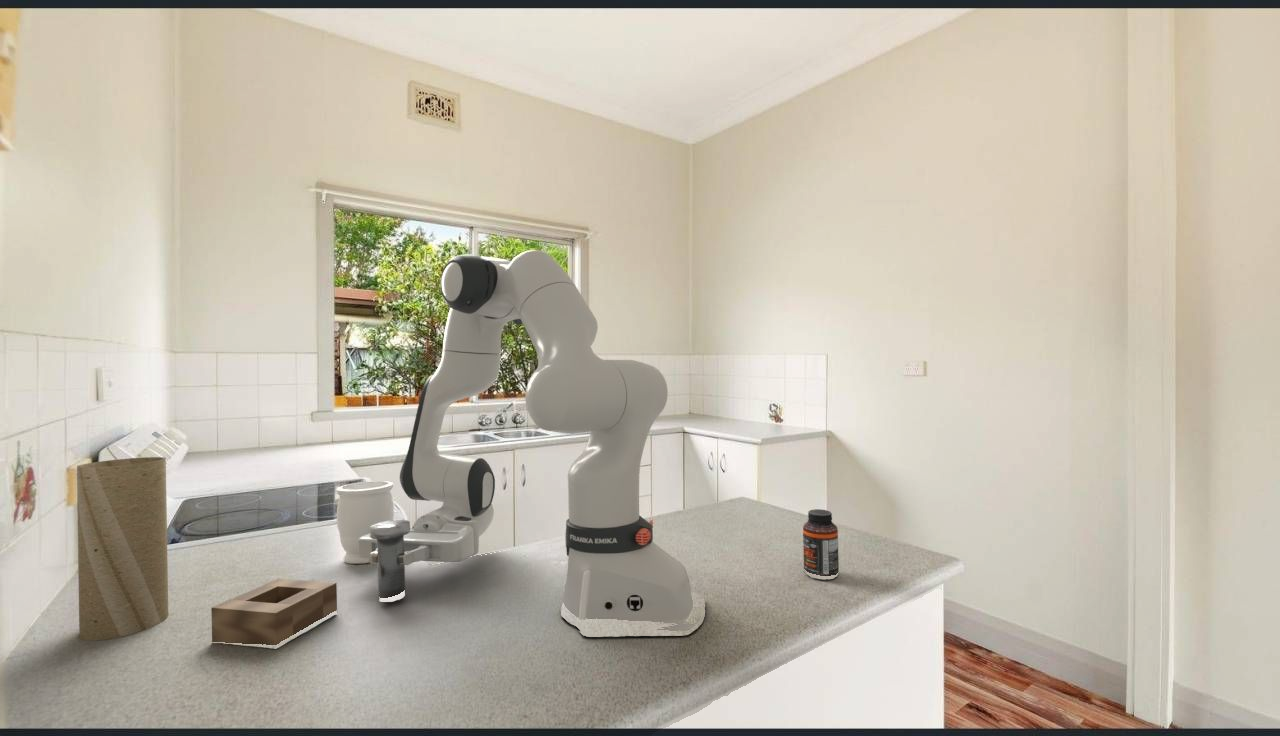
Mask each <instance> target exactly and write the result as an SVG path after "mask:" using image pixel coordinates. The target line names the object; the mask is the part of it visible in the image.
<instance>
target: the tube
mask: <svg viewBox="0 0 1280 736" xmlns="http://www.w3.org/2000/svg"><path fill="white" fill-rule="evenodd" d="M76 500H77V501H76V502H77V511H76V512H77V555H78V556H77V564H78V568H77V569H78V571H77V572H78V573H77V574H78V575H77V576H78V619H79V620H78V621H79V622H78V623H79V624H78V627H79V630H78V633H79V638H80V639H81V640H84V641H105V640H112V639H116V638H117V639H118V638H121V637H122V638H123V637H126V636H129V635H132V634H136V633H139V632H143V631H146V630H147V629H149V628H152V627H154V626H157V625H159V624H160V623H162V622H164V621H165V620H167V619H168V617H169V584H168V583H169V575H168V574H169V570H168V564H169V563H168V562H169V561H168V521H167V520H168V519H167V517H168V515H167V514H168V513H167V511H168V510H167V509H168V508H167V458H166V457H161V456H151V457H150V456H148V457H131V458H120V459H110V460H103V461H96V462H89V463H83V464H80V465H79V464H78V465H77V466H76Z"/></svg>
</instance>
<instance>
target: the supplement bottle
mask: <svg viewBox="0 0 1280 736" xmlns="http://www.w3.org/2000/svg"><path fill="white" fill-rule="evenodd" d="M807 516H808V517H807V518H808V519H807V521H806V522H805V523H804V524H803V526H802V538H803V539H802V540H803V541H802V544H803V547H802V548H803V550H802V551H803V570H804V569H805V570H806V571H807V572H809V573H812V574H816V575H820V576H831V575H836V574H837V573H838V572H840V569H839V568H840V567H839V566H840V565H839V562H840V561H839V529H838V527H837V525H836V524H834V522H833V514H832V512H831V510H830V511H829V510H826V509H818V508H817V509H816V508H815V509H810V510H808V513H807Z"/></svg>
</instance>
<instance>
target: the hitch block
mask: <svg viewBox="0 0 1280 736" xmlns="http://www.w3.org/2000/svg"><path fill="white" fill-rule="evenodd" d="M337 587H338V586H337V582H333V581H332V582H330V581H317V580H315V581H314V580H301V579H286V578H277V579H275V580H272V581H270V582H268V583H265V584H263V585H260V586H258V587H256V588H253V589H252V590H249V591H247V592H245V593H242V594H239V595H238V596H235V597H233V598H230V599H227V600H226V601H224V602H222V603H219V604H216V605H215V606H212V607H210V608H211V611H210V612H211V643H212V642H225V643H242V644H262V645H263V644H266V645H277V644H279V643H280V642H281V641H283V640H285V639H287V638H289V637H290V636H292V635H294V634H296V633H297V632H299V631H300V630H303V629H304V628H306V627H308V626H309V625H311V624H313V623H314V622H316V621H318V620H320V619H322V618H324V617H326V616H327V615H329V614H330V613H332V612H334V611H336V610H337V611H338V589H337Z"/></svg>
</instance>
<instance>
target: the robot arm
mask: <svg viewBox="0 0 1280 736" xmlns="http://www.w3.org/2000/svg"><path fill="white" fill-rule="evenodd" d="M440 276H441V277H440V293H441V296H442V298H443V300H444V302H445V304H446V305H447V307H449V312H448V315H447V320H446V322H445V323H446V324H445V329H444V333H443V334H444V335H443V343H442V353H441V354H442V356H441V359H440V361H439V362H440V363H439V365H438V367H437V369H436V371H435V372H434V373H433V374H431V375H430V376H428V378H427V379H426V380H425V382H424V385H423V388H422V391H421V394H420V398H419V401H418V405H417V410H416V414H415V417H414V418H415V420H414V424H413V428H412V431H411V438H410V442H409V446H408V450H407V453H406V456H405V458H404V461H403V463H402V465H401V468H400V472H399V483H400V486H401V488H402V490H403V491H404V493H405V494H406V496H407V497H408V498H409V499H411V500H414V501H427V502H428V501H430V502H431V501H432V502H433V501H434V502H437V503H438V502H439V503H440V502H441V503H442V505H441V507H439V508H437V509H434V510H432V511H430V512H428V513H425V514H423V515H420V516H419V517H418V518H417V519H416V520H415V521H414V523H413V525H412V527H410V533H408V534H406V535H404V552H403V553H401V554H399V556H398V559H399V561H398V564H399V565H405V566H409V565H411V564H413V563H417V562H418V563H419V562H437V563H438V562H439V563H442V562H443V563H459V562H464V561H466V560H467V559H469V558H471V557H473V556H475V555H477V554H478V553H479V547H480V537H481V536H482V535H483V534H485V532H486V531H487V529H488V528H489V527H490V525H491V523H492V522H493V519H494V514H495V513H494V507H493V504H492V502H493V500H494V495H495V490H496V488H495V487H496V484H495V483H496V480H495V475H494V473H493V470H492V469H493V468H491V465H490V464H489V463H488V462H487V461H486V459H484V458H483V457H480V458H479V457H475V456H469V455H459V454H451V453H444V452H440V450H439V448H438V443H439V439H440V436H441V435H440V434H441V430H442V428H443V427H442V426H443V421H444V416H445V414H446V411H447V410H448V408H450V406H452V405H453V404H454V403H456V402H459V401H461V400H465V399H467V398H468V399H469V398H471V397H475V396H478V395H481V394H482V393H484V392H485V391H487V390H488V389H490V388H491V387H492V386H493V384H494V383H495V382H496V381H497V379H498V376H499V372H500V366H501V351H502V350H501V349H502V332H503V329H504V327H505V326H506V325H507V324H508V323H509V322H511V321H512V322H513V323H514V324H515V325H517V326H520V325H522V324H523V327H524V328H525V331H526V332H527V335H528V336H529V339H530V340H531V343H532V345H533V347H534V349H535V351H536V356H537V362H538V363H537V368H536V369H535V370H534V371H533V372H532V374H531V376H530V377H529V379H528V382H527V385H526V388H525V395H524V397H525V399H524V400H525V406H526V411H527V413H528V415H529V417H530V419H531V420H532V421H533V423H534V424H535V425H536V426H537V427H538V428H539V429H542V430H544V431H549V432H553V433H554V432H555V433H562V434H571V435H573V434H580V433H588V432H589V438H588V441H587V444H586V446H585V447H584V450H583V451H582V452H581V454H580V455H579V456H578V457H577V459H575V460H574V461H573V462H572V464H571V466H570V467H569V470H568V474H567V499H568V500H567V501H568V505H567V506H568V508H567V509H568V510H567V511H568V519H566V521H565V537H564V538H565V548H566V556H567V570H566V580H565V581H566V582H565V589H564V592H563V598H562V602H563V603H564V605H565V607H566V608H567V609H568V610H569V611H570V612H571V613H572V614H574V615H575V616H576V617H578V618H579V619H580V620H582V619H583V620H585V619H586V618H587V619H596V618H597V619H617V620H628V621H651V622H660V623H661V622H664V623H676V624H678V625H674V624H672V625H674V626H669V627H670V628H669V627H662V628H664V629H657V630H669V631H679V630H681V631H685V630H686V631H687V630H689V629H690V628H692V627H693V626H695V624H697V623H694V624H689V623H687V624H683V623H686V622H684V621H685V620H686V619H687V618H688V617H689V615H690V613H691V611H692V608H693V600H692V594H691V591H692V587H691V583H690V579H689V575H688V572H687V569H686V568H685V566H684V565H683V563H682V562H681V561H680V560H678V559H676V558H675V557H674V556H672V555H671V554H670V553H668V552H667V551H665V550H664V549H663V548H662V547H661V546H660V545H658V544H657V543H655V542H654V541H653V539H654V536H653V534H654V531H653V528H654V525H653V524H654V521H653V519H650V521H647V520H646V519H645V518H643V517H642V516H641V515H640V470H641V463H642V458H643V457H642V456H643V454H644V453H643V452H644V449H645V445H646V442H647V439H648V436H649V433H650V431H651V429H652V426H653V425H654V422H655V421H656V419H657V418H658V417H659V416H660V415H661V413H662V412H663V411H664V409H665V407H666V405H667V401H668V395H669V393H668V391H669V390H668V384H667V381H666V379H665V376H664V375H663V374H662V372H661V371H660V370H659V369H658V368H657V367H655V366H653V365H650V364H648V363H644V362H641V361H637V360H633V359H602V358H600V357H599V356H597V355H596V353H595V352H594V351H593V349H592V345H593V343H594V342H595V341H596V340H595V339H596V337H597V333H598V327H599V326H598V321H597V319H596V317H595V315H594V313H593V311H592V310H591V308H590V306H589V305H588V303H587V302H586V300H585V299H584V297H583V295H582V294H581V292H580V291H579V289H578V287H577V286H576V284H575V283H574V281H573V280H572V278H571V277H570V276H569V274H568V273H567V272H566V271H565V270H564V268H563V267H562V266H561V265H560V263H558V261H556V260H555V258H553V257H552V256H551V255H550V254H549V253H547V252H544V251H542V250H538V249H532V250H526V251H524V252H521V253H519V254H518V255H516V256H515V257H513V259H512V260H511V261H510V260H508V259H503V258H498V257H490V256H489V257H488V256H480V255H477V254H470V253H469V254H467V253H466V254H457V255H455V256H453V257H452V258H451V259H449V261H448V262H447V263H446V264H445V266H444V267H443V270H442V272H441V275H440ZM358 554H359V557H360V558H365V559H369V562H370V563H369V564H370V565H371V564H372V565H374V564H375V565H378V558H377V539H372V538H370V534H367V535H364V536H362V537H360V538H359V540H358ZM700 618H701V617H700ZM700 618H697V619H696V620H697V622H698V621H699V620H700Z"/></svg>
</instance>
